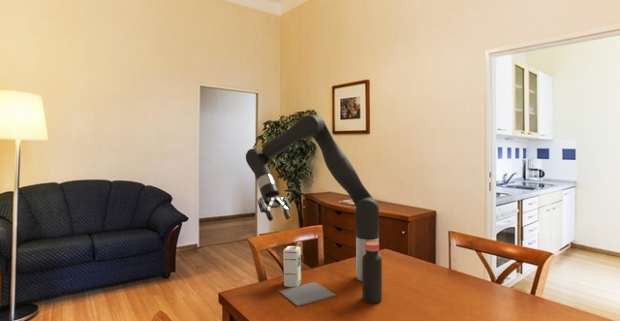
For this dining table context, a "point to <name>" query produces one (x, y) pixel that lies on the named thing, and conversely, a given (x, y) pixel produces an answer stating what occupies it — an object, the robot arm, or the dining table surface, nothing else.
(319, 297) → the slate mat
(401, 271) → the dining table surface
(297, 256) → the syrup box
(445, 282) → the dining table surface
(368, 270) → the bottle
